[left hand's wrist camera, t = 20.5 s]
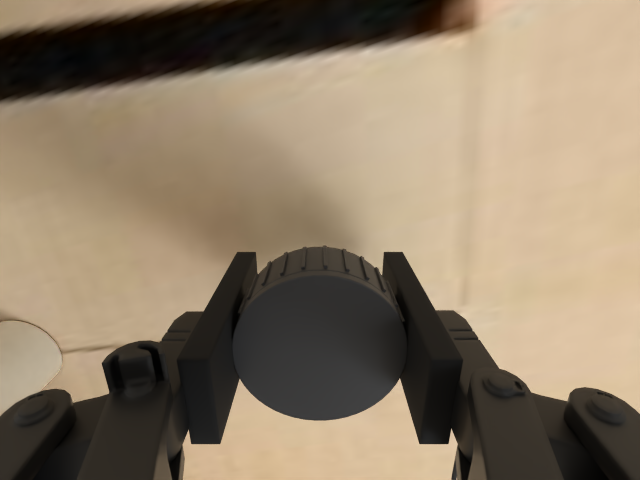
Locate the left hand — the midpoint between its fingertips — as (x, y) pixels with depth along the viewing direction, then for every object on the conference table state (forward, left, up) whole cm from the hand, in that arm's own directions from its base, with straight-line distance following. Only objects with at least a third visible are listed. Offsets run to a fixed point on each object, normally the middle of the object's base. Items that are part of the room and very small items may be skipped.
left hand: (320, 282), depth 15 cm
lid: (0, 0, +4) cm, 4 cm away
